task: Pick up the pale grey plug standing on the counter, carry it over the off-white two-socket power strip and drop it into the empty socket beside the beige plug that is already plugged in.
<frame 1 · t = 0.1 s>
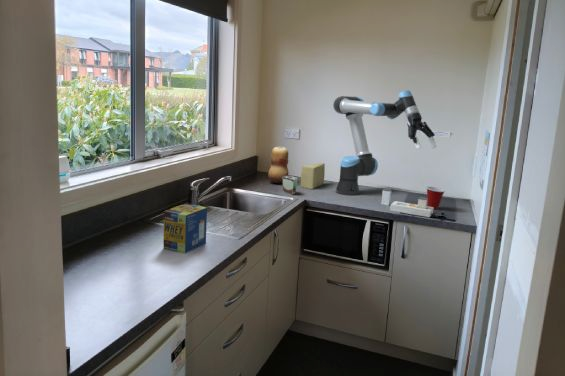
hand: (426, 147, 266), 36 cm above the worktop, tool tilted 35°, fingers open, 13 cm apart
plastic cup: (433, 208, 277), on the worktop
protein box: (185, 246, 190), on the worktop
cheese: (314, 186, 319), on the worktop
food container: (291, 193, 294), on the worktop
grey plug: (385, 204, 280), on the worktop
butternut squash: (277, 183, 321), on the worktop
power strip: (411, 211, 265), on the worktop
beige plug: (421, 213, 263), resting in power strip
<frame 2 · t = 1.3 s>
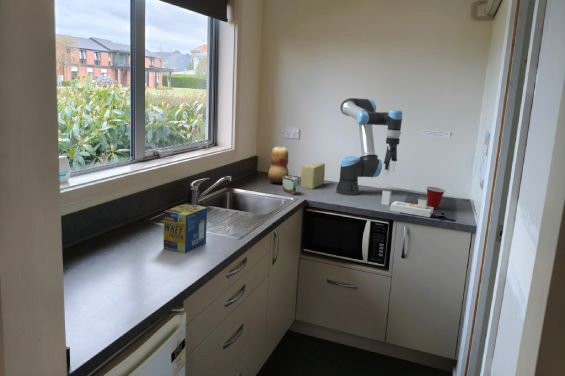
hand: (389, 173, 276), 19 cm above the worktop, tool pointing down, fingers open, 13 cm apart
nothing on the worktop moved.
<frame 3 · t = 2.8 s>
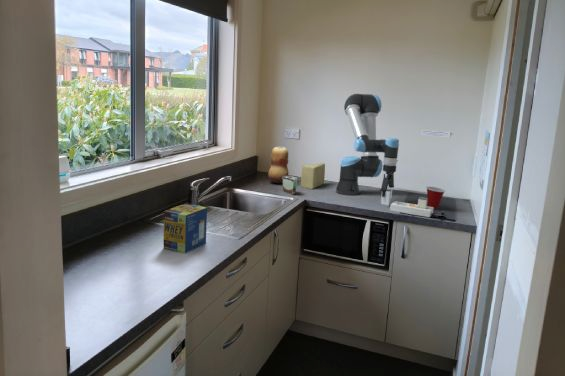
hand: (386, 200, 279), 3 cm above the worktop, tool pointing down, fingers open, 13 cm apart
nothing on the worktop moved.
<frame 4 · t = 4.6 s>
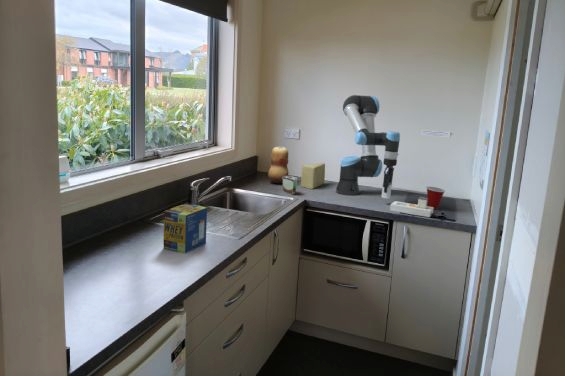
hand: (385, 196, 279), 4 cm above the worktop, tool pointing down, fingers closed on grey plug, 4 cm apart
grey plug: (385, 197, 279), point 4 cm above the worktop, touching gripper
everything else where it was.
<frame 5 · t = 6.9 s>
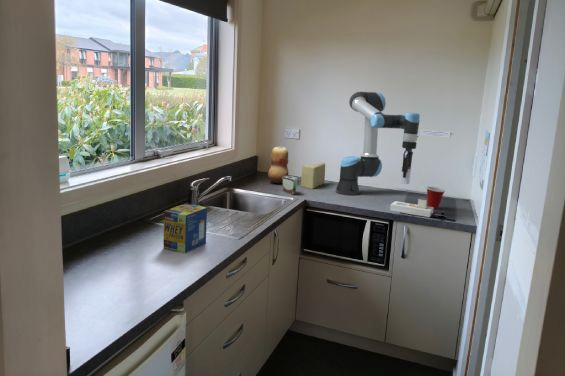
hand: (404, 182, 264), 16 cm above the worktop, tool pointing down, fingers closed on grey plug, 4 cm apart
grey plug: (404, 183, 264), point 16 cm above the worktop, touching gripper
everything else where it was.
when the fingers open (5 cm above the worktop, at t = 9.4 s): grey plug drops 5 cm, resting in power strip.
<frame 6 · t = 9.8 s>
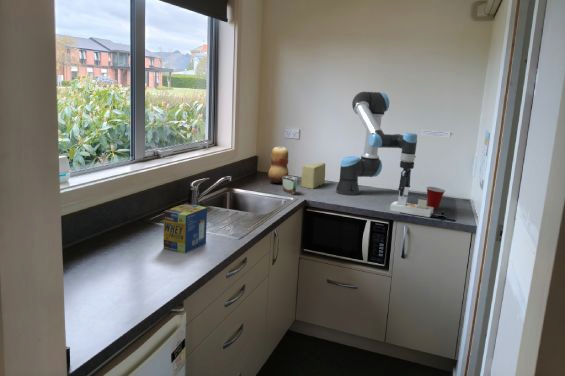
hand: (402, 199, 266), 6 cm above the worktop, tool pointing down, fingers open, 9 cm apart
grey plug: (401, 210, 268), resting in power strip
everything else where it was.
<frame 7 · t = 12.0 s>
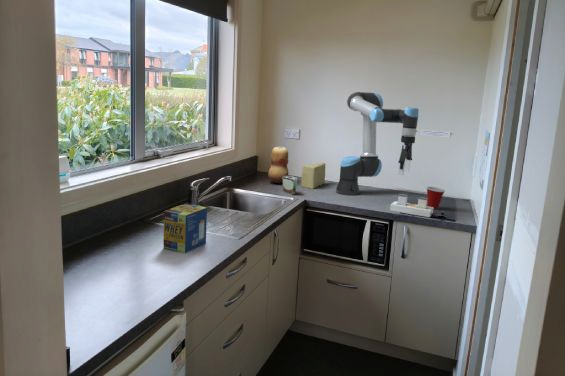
hand: (403, 172, 266), 21 cm above the worktop, tool pointing down, fingers open, 13 cm apart
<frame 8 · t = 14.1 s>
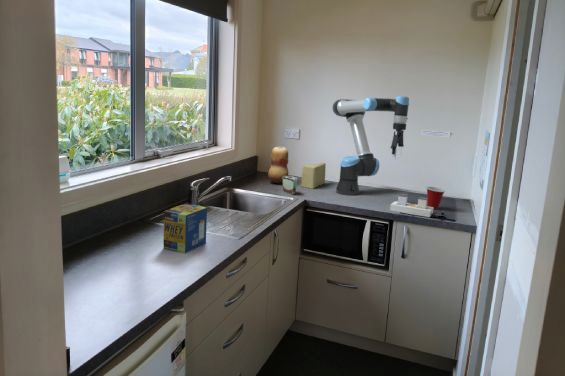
hand: (395, 158, 281), 27 cm above the worktop, tool pointing down, fingers open, 13 cm apart
at the end: grey plug 0.1 cm from the target spot on the power strip, point 0.0 cm above the power strip's base; grey plug tilted 0°; beige plug moved 0.0 cm from its start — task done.
